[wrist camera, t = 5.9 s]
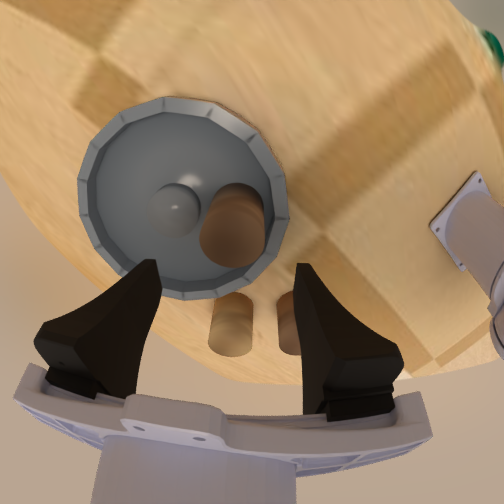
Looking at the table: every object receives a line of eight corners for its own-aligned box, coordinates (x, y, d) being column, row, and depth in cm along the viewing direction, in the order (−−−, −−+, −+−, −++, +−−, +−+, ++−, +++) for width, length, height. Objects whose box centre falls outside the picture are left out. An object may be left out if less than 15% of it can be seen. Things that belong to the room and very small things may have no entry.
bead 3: (323, 301, 27) (331, 338, 23) (297, 322, 29) (301, 359, 25) (294, 284, 26) (299, 323, 22) (268, 307, 28) (269, 346, 24)
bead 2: (261, 303, 27) (261, 342, 23) (239, 324, 29) (236, 361, 25) (227, 285, 26) (222, 324, 22) (207, 308, 28) (200, 346, 24)
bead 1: (268, 187, 20) (271, 218, 16) (258, 233, 22) (257, 272, 18) (215, 178, 19) (202, 206, 15) (209, 225, 22) (196, 262, 17)
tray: (329, 181, 20) (336, 192, 18) (214, 308, 28) (211, 324, 26) (144, 60, 15) (131, 58, 13) (73, 226, 23) (61, 238, 21)
